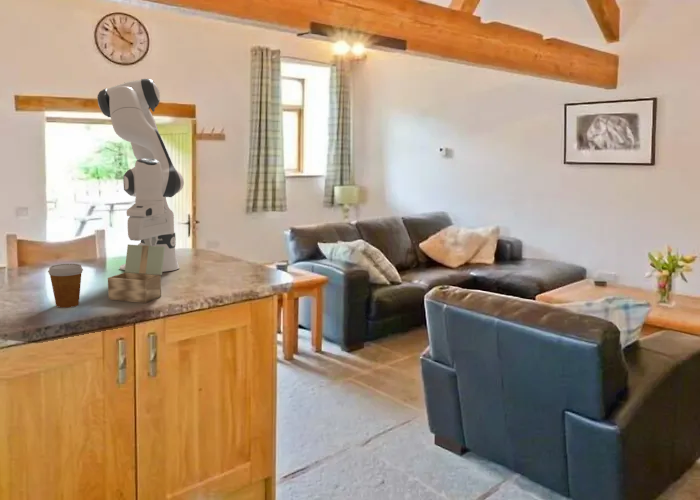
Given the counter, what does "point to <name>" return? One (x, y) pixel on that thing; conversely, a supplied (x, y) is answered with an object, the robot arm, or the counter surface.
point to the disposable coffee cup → (66, 284)
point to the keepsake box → (134, 287)
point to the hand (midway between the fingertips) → (151, 250)
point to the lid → (144, 259)
